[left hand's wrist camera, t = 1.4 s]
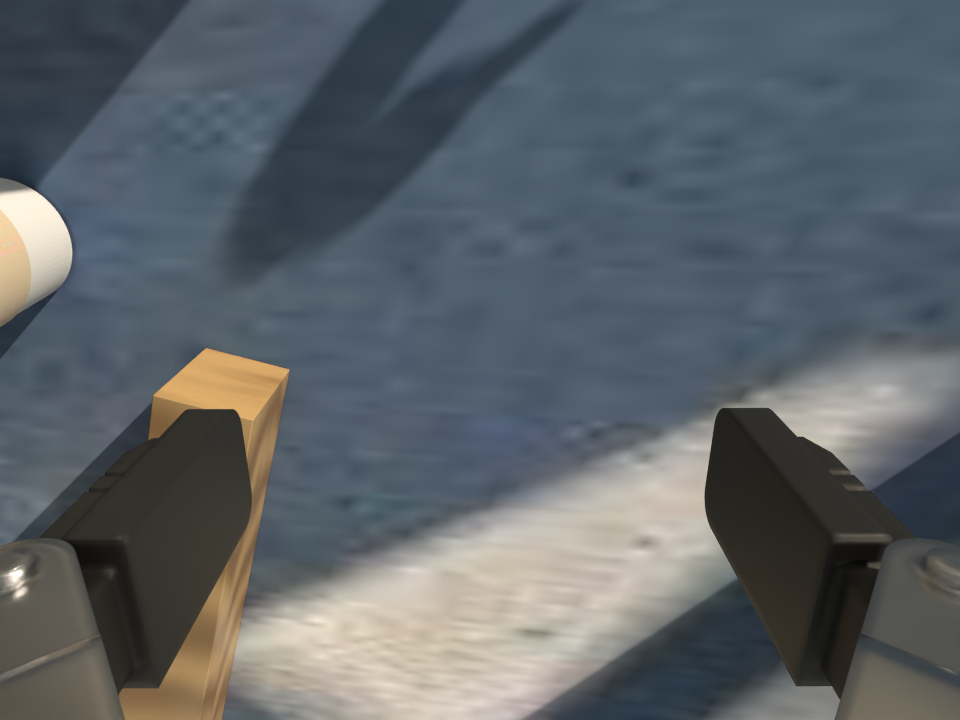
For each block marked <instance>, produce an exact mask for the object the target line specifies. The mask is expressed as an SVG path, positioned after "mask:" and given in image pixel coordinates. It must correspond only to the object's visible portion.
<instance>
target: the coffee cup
mask: <svg viewBox="0 0 960 720" xmlns="http://www.w3.org/2000/svg"><path fill="white" fill-rule="evenodd" d="M71 263H72V244H71V239H70V236H69V233H68V230H67V228H66V225H65V224H64V222H63V220H62V218H61V217H60V215H59V214H58V212H57V211H56V210H55V208H54V207H53V206H52V205H51V204H50V203H49V202H48V201H47V200H46V199H45V198H44V197H42V196H41V195H40V194H39V193H37V192H36V191H34V190H33V189H31V188H29V187H27V186H25V185H23V184H21V183H19V182H16V181H13V180H9V179H5V178H0V327H1V326H3V325H4V324H6V323H7V322H9V321H10V320H11V319H13V318H14V317H15V316H16V315H17V314H18V313H20V312H22V311H23V310H25V309H27V308H28V307H30V306H32V305H33V304H35V303H37V302H38V301H40V300H42V299H43V298H45V297H47V296H48V295H50V294H51V293H53V292H54V291H56V290H57V289H58V288H59V287H60V286H61V285H62V284H63V282H64V281H65V279H66V278H67V276H68V273H69V271H70V268H71Z"/></svg>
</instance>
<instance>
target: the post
mask: <svg viewBox="0 0 960 720" xmlns="http://www.w3.org/2000/svg"><path fill="white" fill-rule="evenodd" d="M288 375H289V369H285V368H281V367H277V366H274V365H270V364H266V363H262V362H258V361H254V360H250V359H246V358H243V357H239V356H235V355H231V354H227V353H223V352H219V351H215V350H211V349H208V348H206V349H204V350H203V351H202V352H201V353H200V354H199V355H198V356H197V357H195V358H194V359H193V360H192V361H191V362H190V363H189V364H188V365H187V366H185V367H184V368H183V369H182V370H181V371H180V372H179V373H178V374H176V375H175V376H174V377H173V378H172V379H171V380H170V381H169V382H167V383H166V384H165V385H164V386H163V387H162V388H161V389H160V390H159V391H157V392H156V393H155V394H154V395H153V400H152V409H151V418H150V427H149V435H148V440H150V439H152V438H159V437H160V436H161V435H162V434H163V433H164V432H165V431H166V430H167V429H168V428H169V426H170V425H171V424H172V423H173V422H174V421H175V420H176V419H177V418H178V417H179V416H180V415H181V414H182V413H183V412H184V411H185V410H187V409H234V410H236V411H237V413H238V414H239V417H240V419H241V424H242V430H243V436H244V443H245V450H246V456H247V463H248V470H249V477H250V483H251V491H252V507H251V514H250V519H249V522H248V525H247V528H246V530H245V532H244V533H243V535H242V537H241V539H240V541H239V542H238V544H237V546H236V548H235V550H234V552H233V553H232V555H231V557H230V559H229V561H228V563H227V564H226V566H225V568H224V570H223V572H222V573H221V575H220V577H219V579H218V581H217V583H216V584H215V586H214V588H213V590H212V592H211V594H210V595H209V597H208V599H207V601H206V603H205V604H204V606H203V608H202V610H201V612H200V614H199V615H198V617H197V619H196V621H195V623H194V625H193V626H192V628H191V630H190V632H189V634H188V635H187V637H186V639H185V641H184V643H183V645H182V646H181V648H180V650H179V652H178V654H177V656H176V657H175V659H174V661H173V663H172V665H171V667H170V668H169V670H168V672H167V674H166V676H165V677H164V679H163V681H162V683H161V685H160V687H159V688H122V690H121V692H120V693H119V700H120V703H121V707H122V710H123V714H124V717H125V720H222V715H223V710H224V705H225V699H226V694H227V689H228V684H229V679H230V674H231V669H232V663H233V658H234V653H235V648H236V643H237V638H238V633H239V627H240V622H241V617H242V612H243V607H244V602H245V597H246V591H247V586H248V581H249V576H250V571H251V566H252V560H253V555H254V550H255V545H256V540H257V535H258V530H259V524H260V519H261V514H262V509H263V504H264V499H265V494H266V488H267V483H268V478H269V473H270V468H271V463H272V457H273V452H274V447H275V442H276V437H277V432H278V427H279V421H280V416H281V411H282V406H283V401H284V396H285V391H286V385H287V380H288Z"/></svg>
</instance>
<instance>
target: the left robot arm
mask: <svg viewBox="0 0 960 720" xmlns="http://www.w3.org/2000/svg"><path fill="white" fill-rule="evenodd" d="M251 507H252V491H251V483H250V477H249V470H248V463H247V456H246V450H245V443H244V436H243V430H242V424H241V419H240V417H239V414H238V413H237V411H236V410H234V409H187V410H185V411H184V412H183V413H182V414H181V415H180V416H179V417H178V418H177V419H176V420H175V421H174V422H173V423H172V424H171V425H170V426H169V428H168V429H167V430H166V431H165V432H164V433H163V434H162V435H161V436H160V437H159V438H152V439H150V440H148V441H146V442H145V443H143V444H141V445H139V446H137V447H136V448H134V449H132V450H130V451H128V452H127V453H125V454H123V455H122V456H121V457H120V458H119V459H118V460H117V461H116V462H115V463H114V464H113V465H112V466H111V467H110V468H109V469H108V470H107V471H106V472H105V476H101V477H100V478H99V479H98V480H97V481H96V482H95V483H94V484H93V485H92V486H91V487H90V488H89V492H85V493H84V494H83V495H82V496H81V497H80V498H79V499H78V500H77V501H76V502H75V503H74V504H73V505H72V506H71V507H70V508H69V509H68V510H67V511H66V512H65V513H64V514H63V515H62V516H61V517H60V518H59V519H58V520H57V521H56V522H55V523H54V524H53V525H52V526H51V527H50V528H49V529H48V530H46V531H45V532H44V533H43V534H42V535H41V536H40V537H39V538H34V539H26V540H21V541H16V542H12V543H8V544H5V545H2V546H0V720H125V717H124V714H123V710H122V707H121V703H120V700H119V696H118V695H119V693H120V692H121V690H122V688H159V687H160V685H161V683H162V681H163V679H164V677H165V676H166V674H167V672H168V670H169V668H170V667H171V665H172V663H173V661H174V659H175V657H176V656H177V654H178V652H179V650H180V648H181V646H182V645H183V643H184V641H185V639H186V637H187V635H188V634H189V632H190V630H191V628H192V626H193V625H194V623H195V621H196V619H197V617H198V615H199V614H200V612H201V610H202V608H203V606H204V604H205V603H206V601H207V599H208V597H209V595H210V594H211V592H212V590H213V588H214V586H215V584H216V583H217V581H218V579H219V577H220V575H221V573H222V572H223V570H224V568H225V566H226V564H227V563H228V561H229V559H230V557H231V555H232V553H233V552H234V550H235V548H236V546H237V544H238V542H239V541H240V539H241V537H242V535H243V533H244V532H245V530H246V528H247V525H248V522H249V519H250V514H251ZM705 509H706V515H707V519H708V522H709V525H710V527H711V529H712V531H713V533H714V535H715V537H716V539H717V541H718V542H719V544H720V546H721V548H722V550H723V552H724V553H725V555H726V557H727V559H728V561H729V563H730V565H731V566H732V568H733V570H734V572H735V574H736V576H737V577H738V579H739V581H740V583H741V585H742V587H743V589H744V590H745V592H746V594H747V596H748V598H749V600H750V601H751V603H752V605H753V607H754V609H755V611H756V613H757V614H758V616H759V618H760V620H761V622H762V624H763V625H764V627H765V629H766V631H767V633H768V635H769V637H770V638H771V640H772V642H773V644H774V646H775V648H776V649H777V651H778V653H779V655H780V657H781V659H782V661H783V662H784V664H785V666H786V668H787V670H788V672H789V673H790V675H791V677H792V679H793V681H794V683H795V685H796V686H832V687H833V689H834V690H835V692H836V694H837V695H838V697H839V699H840V703H839V707H838V710H837V714H836V717H835V720H960V546H958V545H955V544H952V543H948V542H944V541H939V540H934V539H926V538H917V537H916V536H915V535H914V534H913V533H912V532H911V531H910V530H909V529H908V528H907V527H906V526H905V525H904V524H903V523H902V522H901V521H900V520H899V519H898V518H897V517H896V516H895V515H894V514H893V513H892V512H891V511H890V510H889V509H888V508H887V507H886V506H885V505H884V504H883V503H882V502H881V501H880V500H879V499H878V498H877V497H876V496H875V495H874V494H873V493H872V492H870V491H866V487H865V486H864V485H863V484H862V483H861V482H860V481H859V480H858V479H857V478H856V477H855V476H854V475H850V471H849V470H848V469H847V468H846V467H845V466H844V465H843V464H842V463H841V462H840V461H839V460H838V459H837V458H836V457H835V456H834V455H833V454H832V453H831V452H829V451H828V450H826V449H824V448H822V447H820V446H819V445H817V444H815V443H813V442H811V441H810V440H808V439H806V438H804V437H797V436H796V435H795V434H794V433H793V432H792V431H791V430H790V429H789V428H788V427H787V426H786V425H785V424H784V423H783V421H782V420H781V419H780V418H779V417H778V416H777V415H776V414H775V413H774V412H773V411H772V410H771V409H769V408H722V409H721V410H720V411H719V412H718V414H717V416H716V420H715V425H714V431H713V438H712V445H711V452H710V459H709V465H708V472H707V479H706V486H705Z"/></svg>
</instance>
